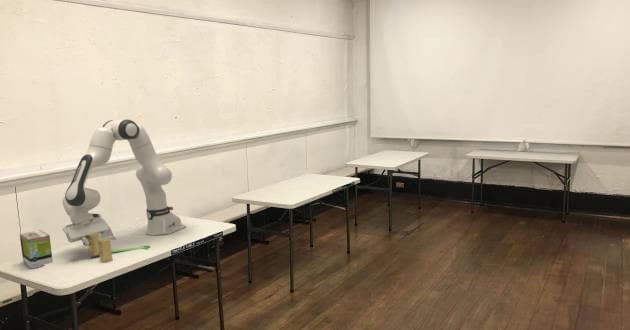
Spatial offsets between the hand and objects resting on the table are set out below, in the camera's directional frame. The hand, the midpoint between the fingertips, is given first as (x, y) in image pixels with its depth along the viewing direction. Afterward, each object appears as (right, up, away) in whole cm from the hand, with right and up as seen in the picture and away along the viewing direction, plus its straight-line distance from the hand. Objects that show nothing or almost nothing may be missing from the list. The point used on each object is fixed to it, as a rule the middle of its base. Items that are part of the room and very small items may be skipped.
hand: (94, 243), depth 251 cm
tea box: (-28, -10, 0) cm, 29 cm away
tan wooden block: (+8, -7, -5) cm, 12 cm away
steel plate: (+3, -8, -1) cm, 9 cm away
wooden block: (0, -5, +1) cm, 5 cm away
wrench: (+12, -6, +9) cm, 16 cm away
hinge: (-10, -4, +28) cm, 30 cm away
